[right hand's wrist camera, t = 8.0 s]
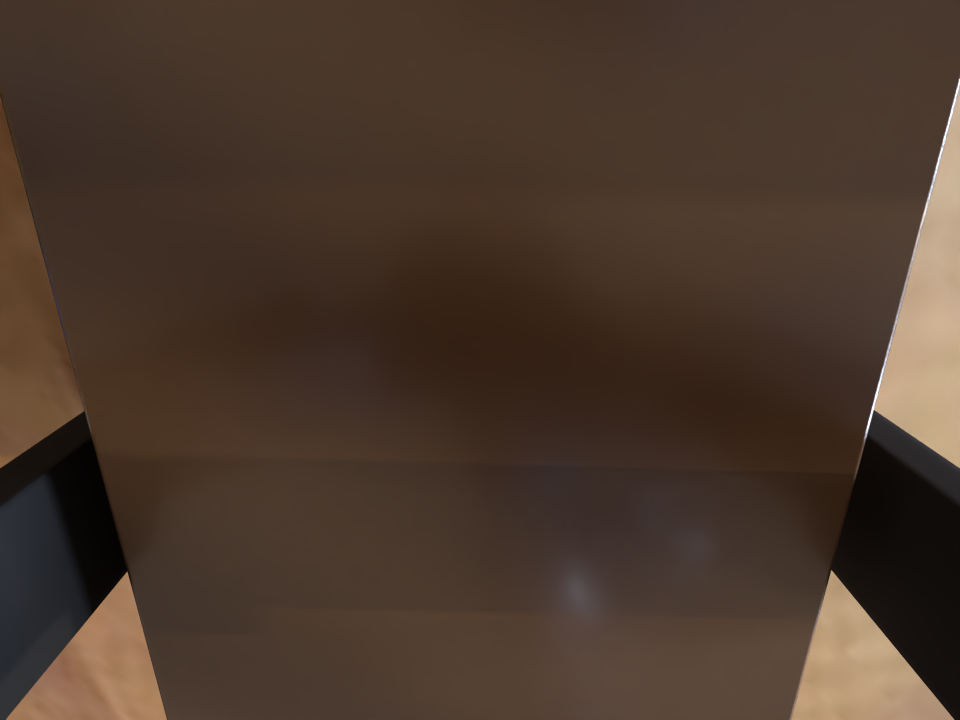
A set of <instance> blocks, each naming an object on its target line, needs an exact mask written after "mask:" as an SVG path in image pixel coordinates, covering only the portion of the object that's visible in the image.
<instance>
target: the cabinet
mask: <svg viewBox="0 0 960 720" xmlns="http://www.w3.org/2000/svg"><path fill="white" fill-rule="evenodd" d="M959 88H960V0H0V96H1V100H2V104H3V108H4V111H5V115H6V119H7V123H8V126H9V130H10V134H11V138H12V141H13V145H14V149H15V153H16V156H17V160H18V164H19V167H20V171H21V175H22V179H23V182H24V186H25V190H26V194H27V197H28V201H29V205H30V209H31V212H32V216H33V220H34V224H35V227H36V231H37V235H38V239H39V242H40V246H41V250H42V253H43V257H44V261H45V265H46V268H47V272H48V276H49V280H50V283H51V287H52V291H53V295H54V298H55V302H56V306H57V310H58V313H59V317H60V321H61V325H62V328H63V332H64V336H65V339H66V343H67V347H68V351H69V354H70V358H71V362H72V366H73V369H74V373H75V377H76V381H77V384H78V388H79V392H80V396H81V399H82V403H83V407H84V411H85V414H86V418H87V422H88V425H89V429H90V433H91V437H92V440H93V444H94V448H95V452H96V455H97V459H98V463H99V467H100V470H101V474H102V478H103V482H104V485H105V489H106V493H107V497H108V500H109V504H110V508H111V511H112V515H113V519H114V523H115V526H116V530H117V534H118V538H119V541H120V545H121V549H122V553H123V556H124V560H125V564H126V568H127V571H128V575H129V579H130V583H131V586H132V590H133V594H134V597H135V601H136V605H137V609H138V612H139V616H140V620H141V624H142V627H143V631H144V635H145V639H146V642H147V646H148V650H149V654H150V657H151V661H152V665H153V669H154V672H155V676H156V680H157V683H158V687H159V691H160V695H161V698H162V702H163V706H164V710H165V713H166V717H167V720H791V719H792V715H793V712H794V708H795V704H796V700H797V697H798V693H799V689H800V685H801V682H802V678H803V674H804V670H805V667H806V663H807V659H808V655H809V652H810V648H811V644H812V640H813V637H814V633H815V629H816V625H817V621H818V618H819V614H820V610H821V606H822V603H823V599H824V595H825V591H826V588H827V584H828V580H829V576H830V573H831V569H832V565H833V561H834V558H835V554H836V550H837V546H838V543H839V539H840V535H841V531H842V528H843V524H844V520H845V516H846V513H847V509H848V505H849V501H850V498H851V494H852V490H853V486H854V482H855V479H856V475H857V471H858V467H859V464H860V460H861V456H862V452H863V449H864V445H865V441H866V437H867V434H868V430H869V426H870V422H871V419H872V415H873V411H874V407H875V404H876V400H877V396H878V392H879V389H880V385H881V381H882V377H883V374H884V370H885V366H886V362H887V358H888V355H889V351H890V347H891V343H892V340H893V336H894V332H895V328H896V325H897V321H898V317H899V313H900V310H901V306H902V302H903V298H904V295H905V291H906V287H907V283H908V280H909V276H910V272H911V268H912V265H913V261H914V257H915V253H916V250H917V246H918V242H919V238H920V235H921V231H922V227H923V223H924V219H925V216H926V212H927V208H928V204H929V201H930V197H931V193H932V189H933V186H934V182H935V178H936V174H937V171H938V167H939V163H940V159H941V156H942V152H943V148H944V144H945V141H946V137H947V133H948V129H949V126H950V122H951V118H952V114H953V111H954V107H955V103H956V99H957V95H958V92H959Z"/></svg>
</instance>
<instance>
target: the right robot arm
mask: <svg viewBox="0 0 960 720" xmlns="http://www.w3.org/2000/svg"><path fill="white" fill-rule="evenodd" d="M831 570H832V571H833V572H834V573H835V575H836V576H837V577H838V578H839V580H840V581H841V582H842V583H843V584H844V586H845V587H846V588H847V589H848V590H849V592H850V593H851V594H852V595H853V597H854V598H855V599H856V600H857V601H858V603H859V604H860V605H861V606H862V608H863V609H864V610H865V611H866V612H867V614H868V615H869V616H870V617H871V619H872V620H873V621H874V622H875V623H876V625H877V626H878V627H879V628H880V629H881V631H882V632H883V633H884V634H885V636H886V637H887V638H888V639H889V640H890V642H891V643H892V644H893V645H894V647H895V648H896V649H897V650H898V651H899V653H900V654H901V655H902V656H903V657H904V659H905V660H906V661H907V662H908V664H909V665H910V666H911V667H912V668H913V670H914V671H915V672H916V673H917V675H918V676H919V677H920V678H921V679H922V681H923V682H924V683H925V684H926V685H927V687H928V688H929V689H930V690H931V692H932V693H933V694H934V695H935V696H936V698H937V699H938V700H939V701H940V703H941V704H942V705H943V706H944V707H945V709H946V710H947V711H948V712H949V713H950V715H951V716H952V717H953V718H954V720H960V468H958V467H957V466H955V465H954V464H952V463H951V462H949V461H948V460H947V459H945V458H944V457H942V456H941V455H939V454H938V453H936V452H935V451H933V450H932V449H930V448H929V447H927V446H926V445H925V444H923V443H922V442H920V441H919V440H917V439H916V438H914V437H913V436H911V435H910V434H908V433H907V432H905V431H904V430H903V429H901V428H900V427H898V426H897V425H895V424H894V423H892V422H891V421H889V420H888V419H886V418H885V417H883V416H882V415H880V414H879V413H878V412H876V411H875V410H874V411H873V415H872V419H871V422H870V426H869V430H868V434H867V437H866V441H865V445H864V449H863V452H862V456H861V460H860V464H859V467H858V471H857V475H856V479H855V482H854V486H853V490H852V494H851V498H850V501H849V505H848V509H847V513H846V516H845V520H844V524H843V528H842V531H841V535H840V539H839V543H838V546H837V550H836V554H835V558H834V561H833V565H832V569H831ZM126 572H127V568H126V564H125V560H124V556H123V553H122V549H121V545H120V541H119V538H118V534H117V530H116V526H115V523H114V519H113V515H112V511H111V508H110V504H109V500H108V497H107V493H106V489H105V485H104V482H103V478H102V474H101V470H100V467H99V463H98V459H97V455H96V452H95V448H94V444H93V440H92V437H91V433H90V429H89V425H88V422H87V418H86V414H85V411H84V412H82V413H81V414H79V415H78V416H77V417H75V418H74V419H72V420H71V421H69V422H68V423H66V424H65V425H63V426H62V427H60V428H59V429H57V430H56V431H55V432H53V433H52V434H50V435H49V436H47V437H46V438H44V439H43V440H41V441H40V442H38V443H37V444H35V445H34V446H32V447H31V448H30V449H28V450H27V451H25V452H24V453H22V454H21V455H19V456H18V457H16V458H15V459H13V460H12V461H10V462H9V463H8V464H6V465H5V466H3V467H2V468H0V720H6V718H7V717H8V716H9V715H10V713H11V712H12V711H13V710H14V709H15V707H16V706H17V705H18V704H19V702H20V701H21V700H22V699H23V698H24V696H25V695H26V694H27V693H28V692H29V690H30V689H31V688H32V687H33V685H34V684H35V683H36V682H37V681H38V679H39V678H40V677H41V676H42V674H43V673H44V672H45V671H46V670H47V668H48V667H49V666H50V665H51V664H52V662H53V661H54V660H55V659H56V657H57V656H58V655H59V654H60V653H61V651H62V650H63V649H64V648H65V646H66V645H67V644H68V643H69V642H70V640H71V639H72V638H73V637H74V636H75V634H76V633H77V632H78V631H79V629H80V628H81V627H82V626H83V625H84V623H85V622H86V621H87V620H88V618H89V617H90V616H91V615H92V614H93V612H94V611H95V610H96V609H97V608H98V606H99V605H100V604H101V603H102V601H103V600H104V599H105V598H106V597H107V595H108V594H109V593H110V592H111V590H112V589H113V588H114V587H115V586H116V584H117V583H118V582H119V581H120V580H121V578H122V577H123V576H124V575H125V573H126Z"/></svg>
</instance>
